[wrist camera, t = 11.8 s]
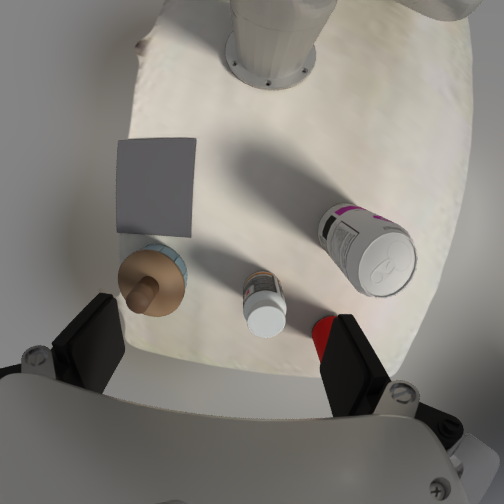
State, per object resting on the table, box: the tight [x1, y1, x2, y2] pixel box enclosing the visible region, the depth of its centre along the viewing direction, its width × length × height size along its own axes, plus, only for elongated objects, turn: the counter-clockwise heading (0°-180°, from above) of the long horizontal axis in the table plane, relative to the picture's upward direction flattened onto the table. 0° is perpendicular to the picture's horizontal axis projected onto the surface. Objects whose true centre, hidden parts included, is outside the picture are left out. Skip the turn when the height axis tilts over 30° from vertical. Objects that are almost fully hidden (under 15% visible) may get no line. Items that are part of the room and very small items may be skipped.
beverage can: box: [312, 316, 337, 363], centre depth 38 cm, size 6×6×12 cm
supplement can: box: [318, 203, 418, 298], centre depth 31 cm, size 8×8×15 cm
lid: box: [118, 249, 185, 317], centre depth 34 cm, size 10×10×6 cm
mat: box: [116, 139, 196, 238], centre depth 36 cm, size 14×12×1 cm
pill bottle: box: [243, 271, 286, 338], centre depth 36 cm, size 6×6×10 cm
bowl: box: [141, 244, 187, 288], centre depth 38 cm, size 9×9×4 cm
